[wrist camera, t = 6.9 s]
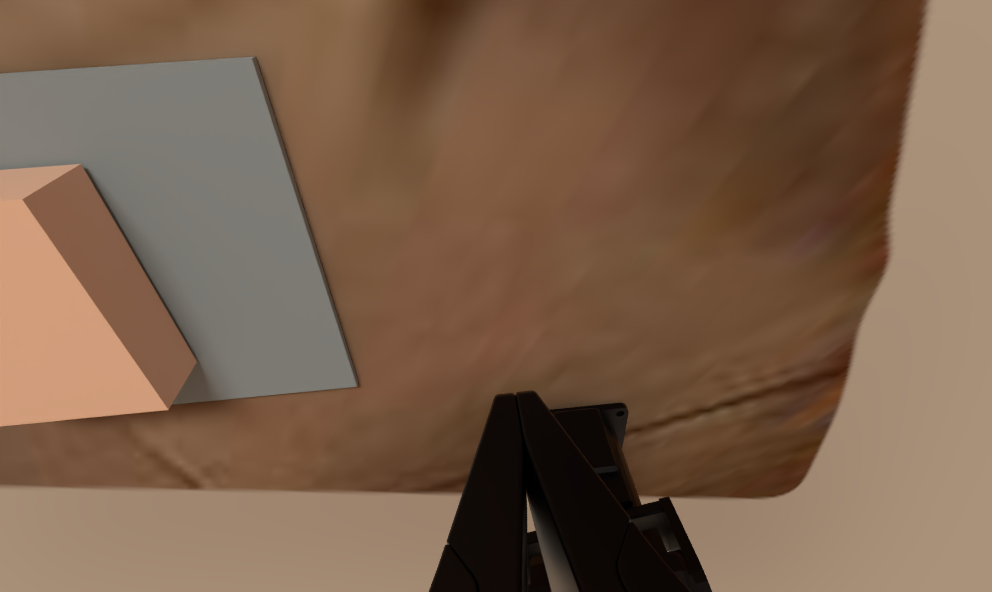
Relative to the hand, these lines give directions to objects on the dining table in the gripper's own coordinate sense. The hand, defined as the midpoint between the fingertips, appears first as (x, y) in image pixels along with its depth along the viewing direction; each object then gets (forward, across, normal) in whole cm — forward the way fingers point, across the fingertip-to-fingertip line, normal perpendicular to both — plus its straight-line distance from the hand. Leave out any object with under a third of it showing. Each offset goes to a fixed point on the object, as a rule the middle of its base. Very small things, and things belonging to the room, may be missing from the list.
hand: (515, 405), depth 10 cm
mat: (+12, +17, +2) cm, 21 cm away
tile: (+10, +14, +2) cm, 18 cm away
